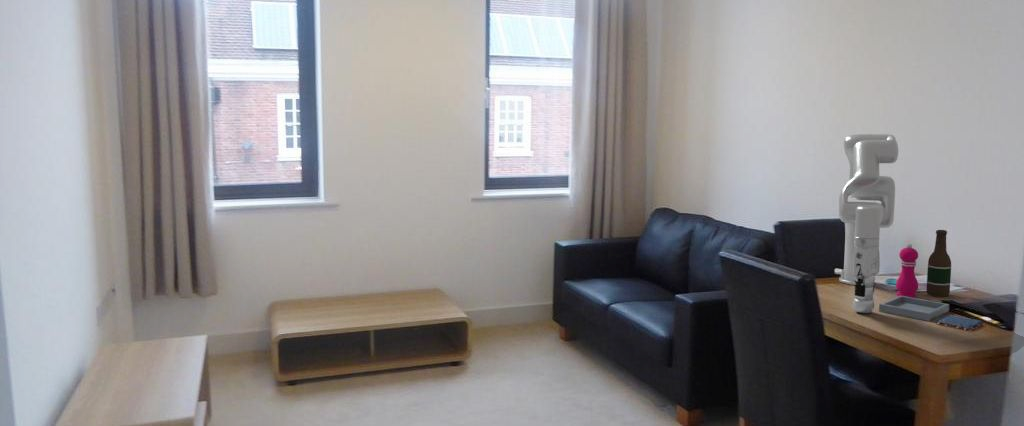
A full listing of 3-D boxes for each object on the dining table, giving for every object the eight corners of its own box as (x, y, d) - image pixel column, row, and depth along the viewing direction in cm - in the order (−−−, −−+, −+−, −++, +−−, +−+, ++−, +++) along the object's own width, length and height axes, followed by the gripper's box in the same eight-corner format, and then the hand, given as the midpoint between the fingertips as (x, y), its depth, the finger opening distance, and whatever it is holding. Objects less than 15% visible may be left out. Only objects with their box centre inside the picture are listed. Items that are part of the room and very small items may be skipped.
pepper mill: (920, 300, 261) (923, 245, 258) (898, 299, 263) (901, 245, 260) (913, 295, 268) (916, 241, 265) (892, 294, 270) (895, 241, 267)
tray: (879, 311, 250) (879, 304, 249) (899, 302, 260) (899, 295, 259) (929, 321, 237) (929, 313, 237) (948, 311, 247) (949, 304, 247)
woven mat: (971, 333, 226) (971, 327, 226) (934, 325, 234) (935, 319, 234) (984, 326, 232) (985, 320, 232) (948, 319, 241) (949, 313, 240)
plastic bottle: (848, 311, 251) (850, 254, 247) (862, 308, 253) (865, 252, 250) (864, 316, 245) (866, 258, 242) (878, 313, 247) (881, 255, 244)
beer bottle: (945, 298, 263) (949, 233, 259) (922, 294, 269) (925, 230, 265) (953, 294, 268) (957, 230, 264) (930, 290, 274) (934, 227, 270)
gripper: (865, 247, 237) (863, 301, 240) (889, 240, 248) (886, 291, 250) (843, 244, 243) (841, 297, 245) (867, 237, 254) (864, 288, 256)
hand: (864, 293), depth 248 cm, fingers closed on plastic bottle, 5 cm apart
